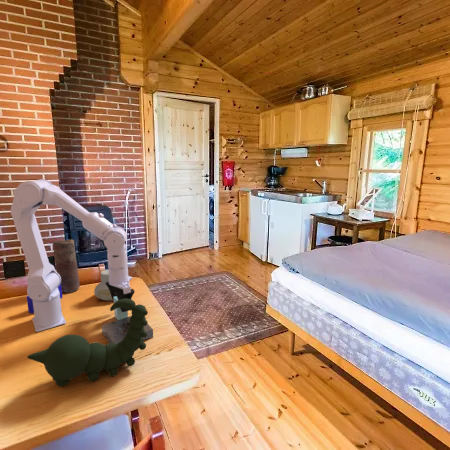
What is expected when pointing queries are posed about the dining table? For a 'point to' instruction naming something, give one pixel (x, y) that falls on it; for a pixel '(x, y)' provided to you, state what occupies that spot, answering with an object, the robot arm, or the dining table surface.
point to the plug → (119, 311)
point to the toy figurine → (94, 350)
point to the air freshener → (103, 287)
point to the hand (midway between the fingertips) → (120, 306)
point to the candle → (66, 265)
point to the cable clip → (30, 301)
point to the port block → (121, 330)
